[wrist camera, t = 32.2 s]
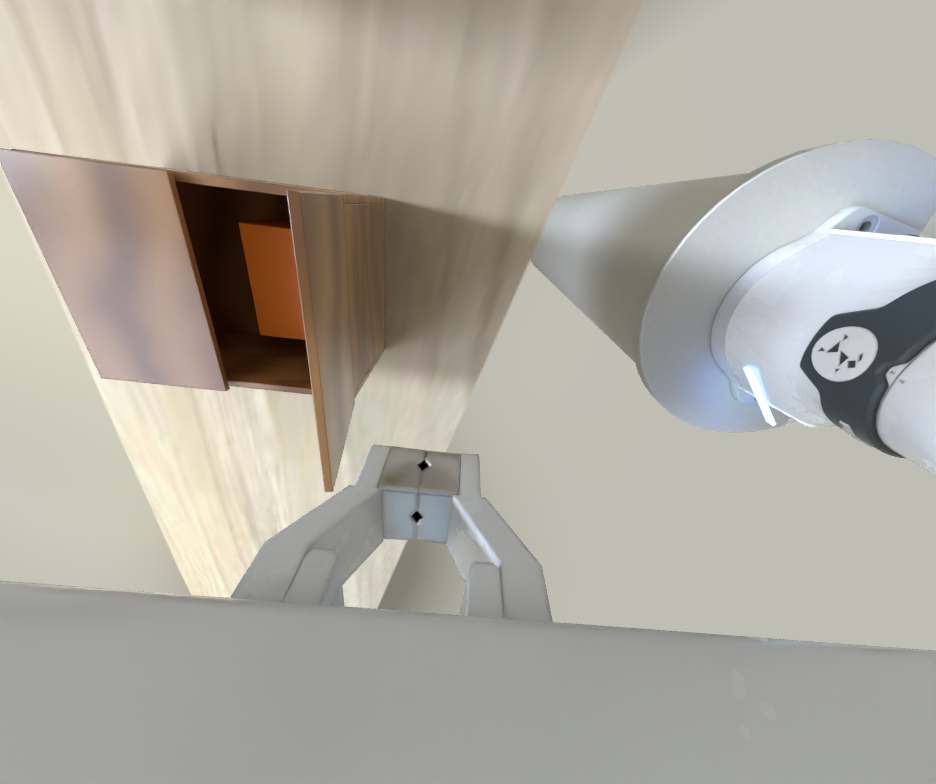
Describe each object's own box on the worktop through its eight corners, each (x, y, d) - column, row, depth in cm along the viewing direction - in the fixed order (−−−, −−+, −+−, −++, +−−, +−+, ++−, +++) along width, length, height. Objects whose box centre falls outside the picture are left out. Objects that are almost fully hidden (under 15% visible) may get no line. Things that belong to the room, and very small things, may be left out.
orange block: (339, 227, 27) (313, 231, 23) (345, 323, 31) (324, 342, 26) (276, 219, 27) (237, 221, 22) (290, 316, 31) (259, 335, 26)
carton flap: (334, 193, 17) (342, 194, 17) (348, 403, 24) (354, 403, 24) (285, 189, 10) (299, 191, 10) (324, 492, 16) (333, 492, 17)
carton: (383, 197, 26) (337, 192, 17) (384, 350, 33) (350, 405, 24) (160, 167, 25) (-11, 145, 16) (205, 330, 32) (100, 378, 23)
